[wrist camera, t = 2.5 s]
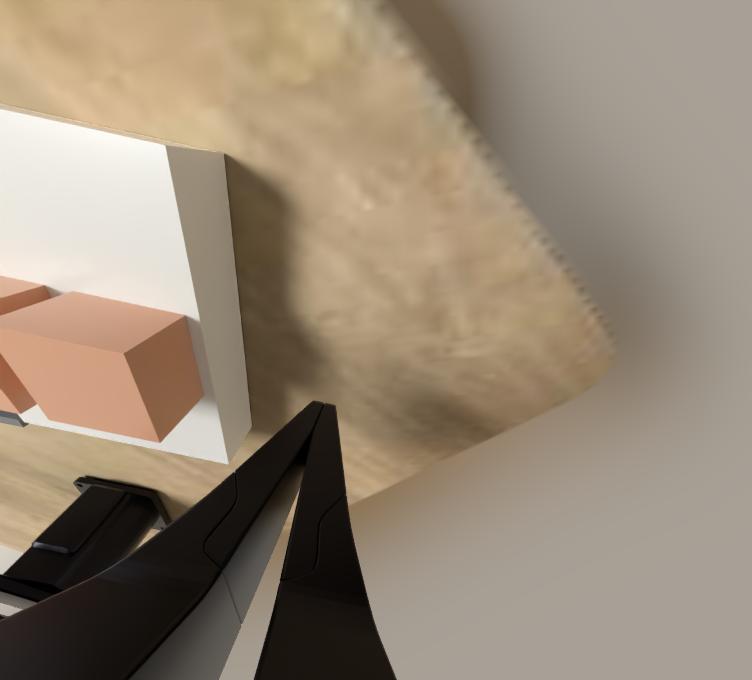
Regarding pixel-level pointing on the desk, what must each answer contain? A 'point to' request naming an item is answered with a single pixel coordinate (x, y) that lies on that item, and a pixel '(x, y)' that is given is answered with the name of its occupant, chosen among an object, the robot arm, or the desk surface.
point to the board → (131, 250)
